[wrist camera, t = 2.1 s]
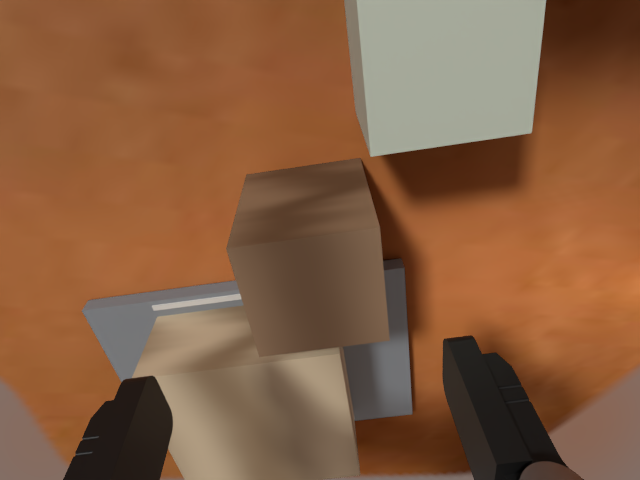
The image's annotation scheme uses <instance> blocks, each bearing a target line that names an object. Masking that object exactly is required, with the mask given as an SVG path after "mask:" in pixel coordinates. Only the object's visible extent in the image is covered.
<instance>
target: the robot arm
mask: <svg viewBox="0 0 640 480" xmlns="http://www.w3.org/2000/svg"><path fill="white" fill-rule="evenodd" d="M443 385H444V391H445V395H446V399H447V402H448V405H449V407H450V410H451V413H452V416H453V419H454V422H455V425H456V428H457V431H458V434H459V437H460V439H461V442H462V445H463V448H464V451H465V454H466V457H467V460H468V463H469V466H470V469H471V472H472V474H473V477H474V480H584V479H582V478H581V477H580V476H579V475H578V474H576V473H575V472H574V471H572V470H571V469H569V468H568V467H567V466H566V464H565V463H564V462H563V461H562V459H561V458H560V456H559V454H558V452H557V451H556V449H555V447H554V445H553V443H552V441H551V439H550V437H549V436H548V434H547V432H546V430H545V428H544V426H543V424H542V422H541V421H540V419H539V417H538V415H537V413H536V411H535V409H534V407H533V405H532V404H531V402H529V398H528V396H527V394H526V392H525V390H524V389H523V387H521V383H520V381H519V379H518V377H517V375H516V374H515V372H514V370H513V368H512V366H510V365H509V364H508V363H507V362H506V361H505V360H504V359H503V358H501V357H500V356H499V355H498V354H497V353H489V354H482V353H481V351H480V349H479V347H478V345H477V343H476V341H475V339H474V337H473V336H471V335H470V336H463V337H455V338H447V339H444V340H443ZM172 430H173V416H172V412H171V409H170V407H169V404H168V402H167V400H166V398H165V396H164V394H163V392H162V390H161V388H160V386H159V383H158V381H157V379H156V378H155V377H154V376H144V377H137V378H129V379H125V380H123V381H122V383H121V385H120V387H119V389H118V392H117V394H116V396H115V399H114V400H112V401H106V402H105V403H104V404H103V405H102V406H101V407H100V409H99V410H98V411H97V412H96V413H95V414H94V416H93V417H92V418H91V419H90V422H89V424H88V426H87V428H86V431H85V433H84V435H83V437H82V438H83V440H82V441H81V442H80V444H79V446H78V448H77V450H76V456H75V457H73V459H72V461H71V464H70V466H69V468H68V470H67V472H66V475H65V477H64V479H63V480H160V476H161V472H162V469H163V465H164V461H165V457H166V454H167V450H168V446H169V442H170V438H171V435H172Z"/></svg>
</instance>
